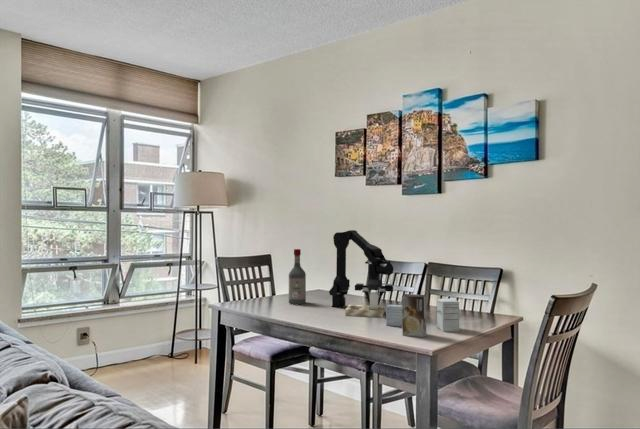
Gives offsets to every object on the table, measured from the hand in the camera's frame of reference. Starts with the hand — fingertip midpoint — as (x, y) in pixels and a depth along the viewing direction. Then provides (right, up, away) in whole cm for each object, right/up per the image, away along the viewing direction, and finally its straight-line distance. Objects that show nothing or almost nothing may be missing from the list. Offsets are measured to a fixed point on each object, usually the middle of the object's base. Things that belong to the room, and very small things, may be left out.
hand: (374, 304), depth 237 cm
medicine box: (+7, -5, -25) cm, 26 cm away
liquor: (-39, -5, +30) cm, 50 cm away
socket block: (-4, -5, +1) cm, 6 cm away
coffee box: (+12, -4, -42) cm, 44 cm away
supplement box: (+28, -5, -33) cm, 43 cm away
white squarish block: (0, -2, 0) cm, 2 cm away
